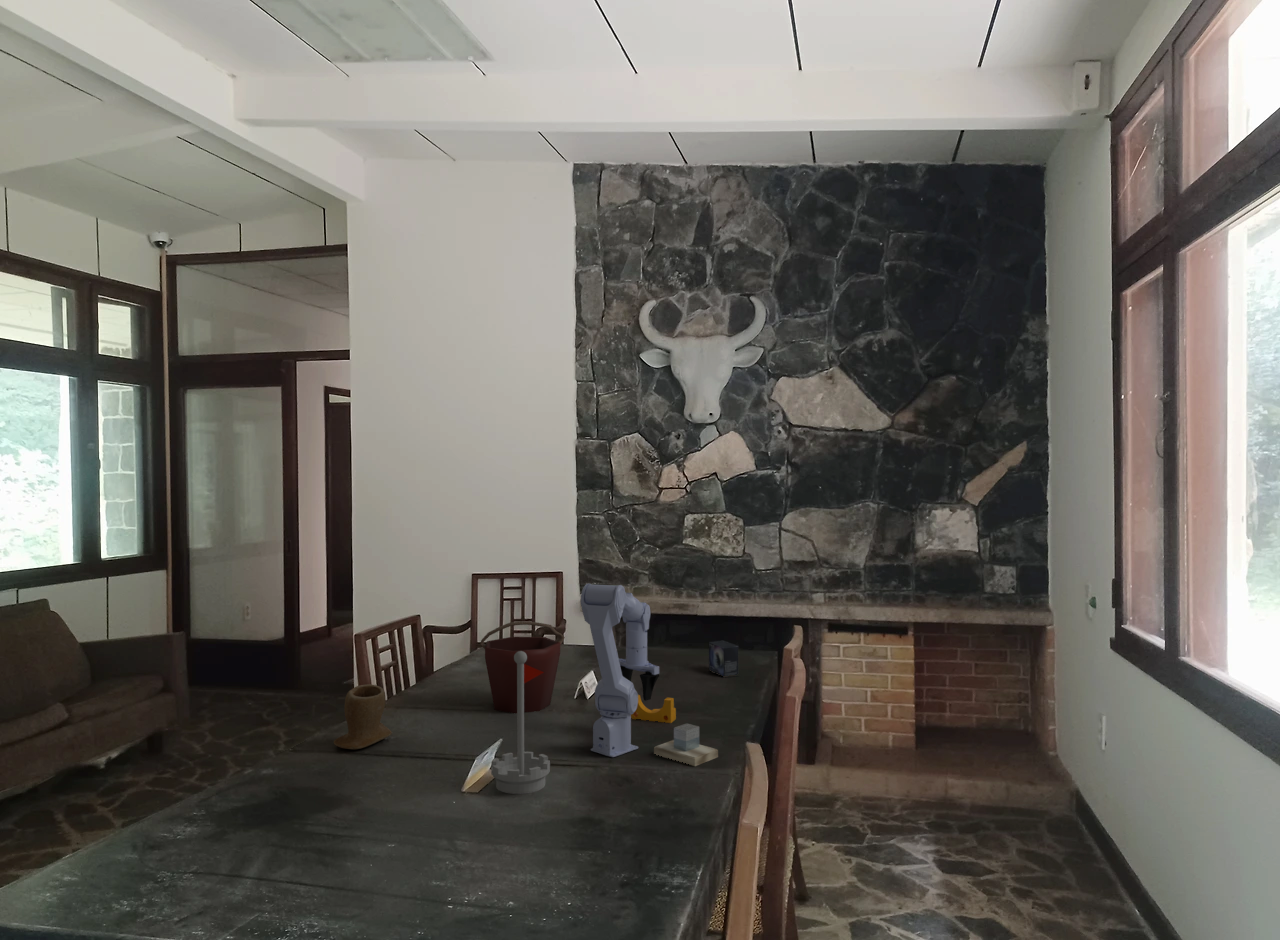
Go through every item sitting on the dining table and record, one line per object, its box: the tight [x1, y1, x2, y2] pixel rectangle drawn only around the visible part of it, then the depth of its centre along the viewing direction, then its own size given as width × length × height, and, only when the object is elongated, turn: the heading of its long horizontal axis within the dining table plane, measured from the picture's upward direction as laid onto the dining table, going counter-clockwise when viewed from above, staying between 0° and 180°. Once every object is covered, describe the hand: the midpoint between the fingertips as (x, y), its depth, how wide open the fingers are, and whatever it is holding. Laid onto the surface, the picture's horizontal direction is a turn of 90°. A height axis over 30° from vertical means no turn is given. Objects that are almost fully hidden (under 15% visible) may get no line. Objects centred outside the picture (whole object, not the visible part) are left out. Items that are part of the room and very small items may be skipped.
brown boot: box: [333, 683, 393, 750], centre depth 225 cm, size 15×12×15 cm
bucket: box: [479, 621, 566, 714], centre depth 260 cm, size 24×22×25 cm
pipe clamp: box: [631, 694, 677, 724], centre depth 247 cm, size 12×4×6 cm, turn 69°
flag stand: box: [490, 651, 551, 795], centre depth 196 cm, size 13×13×30 cm
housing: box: [673, 723, 700, 751], centre depth 215 cm, size 5×4×5 cm
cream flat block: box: [653, 739, 719, 767], centre depth 215 cm, size 9×13×2 cm
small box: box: [708, 640, 739, 676], centre depth 301 cm, size 11×6×10 cm, turn 25°
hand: (636, 697), depth 234 cm, fingers open, 7 cm apart
